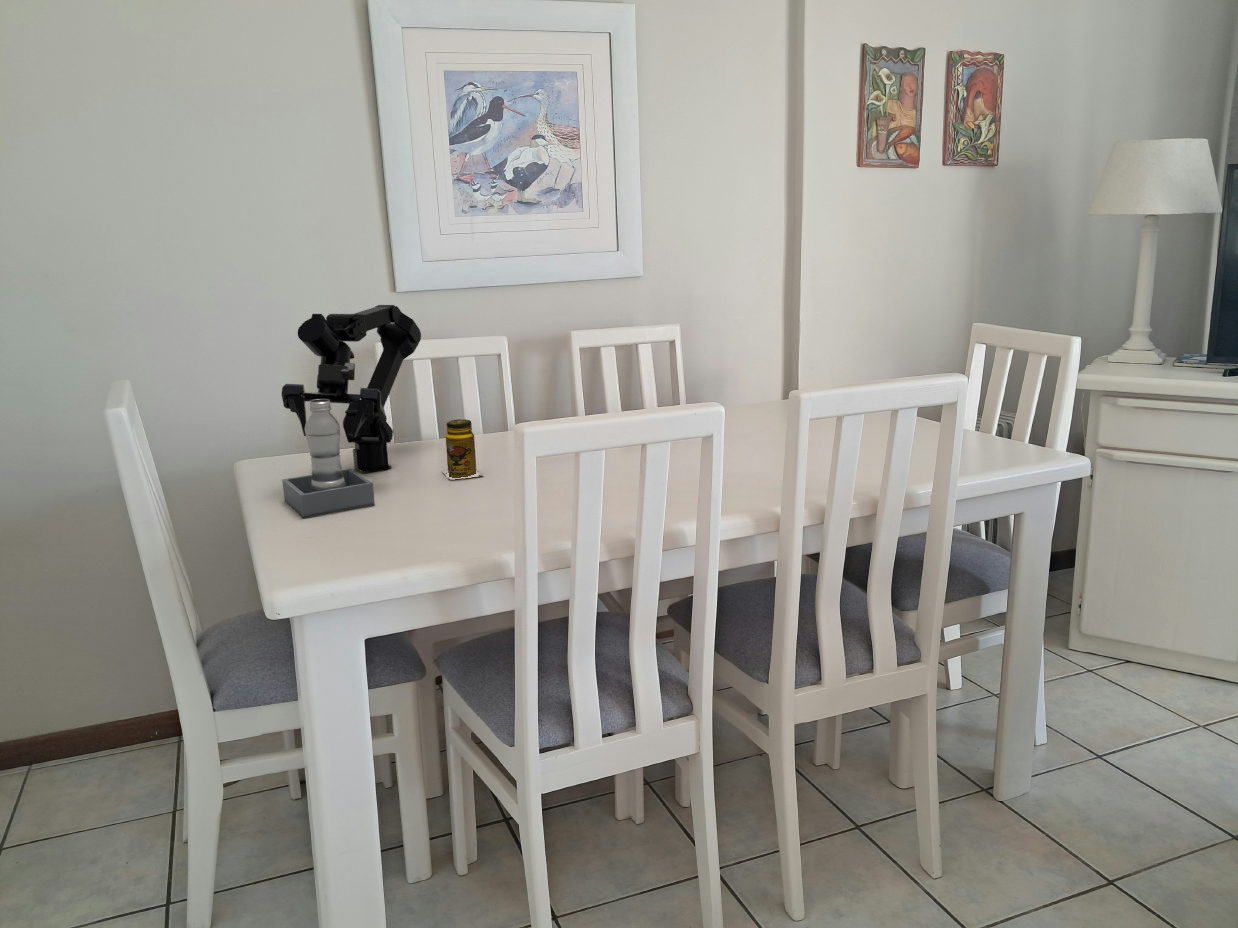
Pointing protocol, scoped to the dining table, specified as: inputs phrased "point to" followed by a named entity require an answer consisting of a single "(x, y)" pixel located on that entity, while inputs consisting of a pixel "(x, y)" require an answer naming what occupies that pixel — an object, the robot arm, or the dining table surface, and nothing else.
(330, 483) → the plastic bottle
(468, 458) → the condiment
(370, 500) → the tote
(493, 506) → the dining table surface
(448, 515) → the dining table surface
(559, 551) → the dining table surface
